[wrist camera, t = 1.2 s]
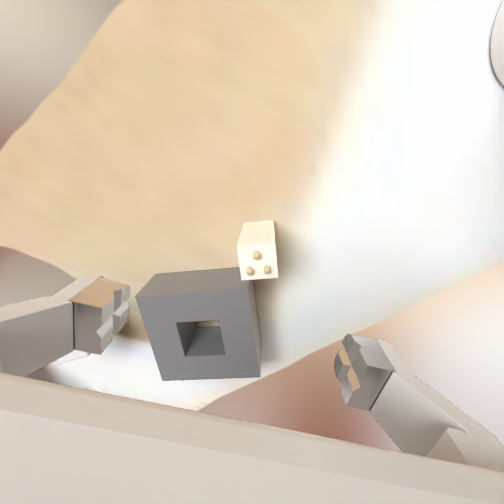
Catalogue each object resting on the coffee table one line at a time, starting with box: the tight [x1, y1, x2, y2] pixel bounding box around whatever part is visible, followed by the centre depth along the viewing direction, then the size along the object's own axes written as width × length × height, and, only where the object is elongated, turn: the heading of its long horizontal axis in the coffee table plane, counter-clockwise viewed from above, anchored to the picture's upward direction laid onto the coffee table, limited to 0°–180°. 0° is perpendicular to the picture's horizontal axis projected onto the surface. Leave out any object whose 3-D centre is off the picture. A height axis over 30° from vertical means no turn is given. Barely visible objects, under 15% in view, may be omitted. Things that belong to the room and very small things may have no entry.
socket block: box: [135, 267, 261, 381], centre depth 41 cm, size 16×16×7 cm
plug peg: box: [237, 220, 278, 280], centre depth 34 cm, size 4×4×11 cm
